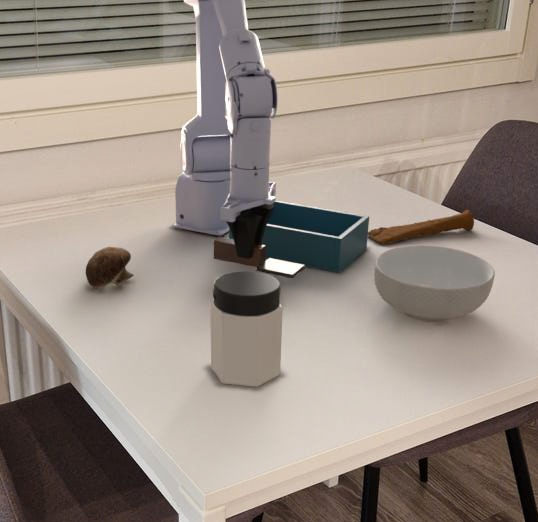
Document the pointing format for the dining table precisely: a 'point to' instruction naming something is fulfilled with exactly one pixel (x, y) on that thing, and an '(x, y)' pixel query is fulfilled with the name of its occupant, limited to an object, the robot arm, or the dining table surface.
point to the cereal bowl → (433, 281)
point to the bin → (314, 236)
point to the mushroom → (108, 267)
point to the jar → (246, 328)
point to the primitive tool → (423, 228)
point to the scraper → (255, 259)
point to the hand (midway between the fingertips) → (248, 254)
